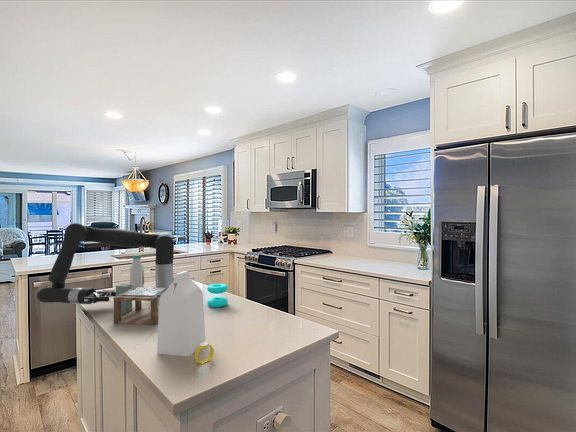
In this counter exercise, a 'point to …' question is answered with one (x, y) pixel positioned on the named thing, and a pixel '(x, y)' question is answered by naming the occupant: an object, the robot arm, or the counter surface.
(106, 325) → the counter surface
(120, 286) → the soapstone block
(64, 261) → the robot arm
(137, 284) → the milk bottle
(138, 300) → the frame
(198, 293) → the milk
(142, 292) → the trapdoor
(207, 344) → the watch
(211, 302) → the donuts
